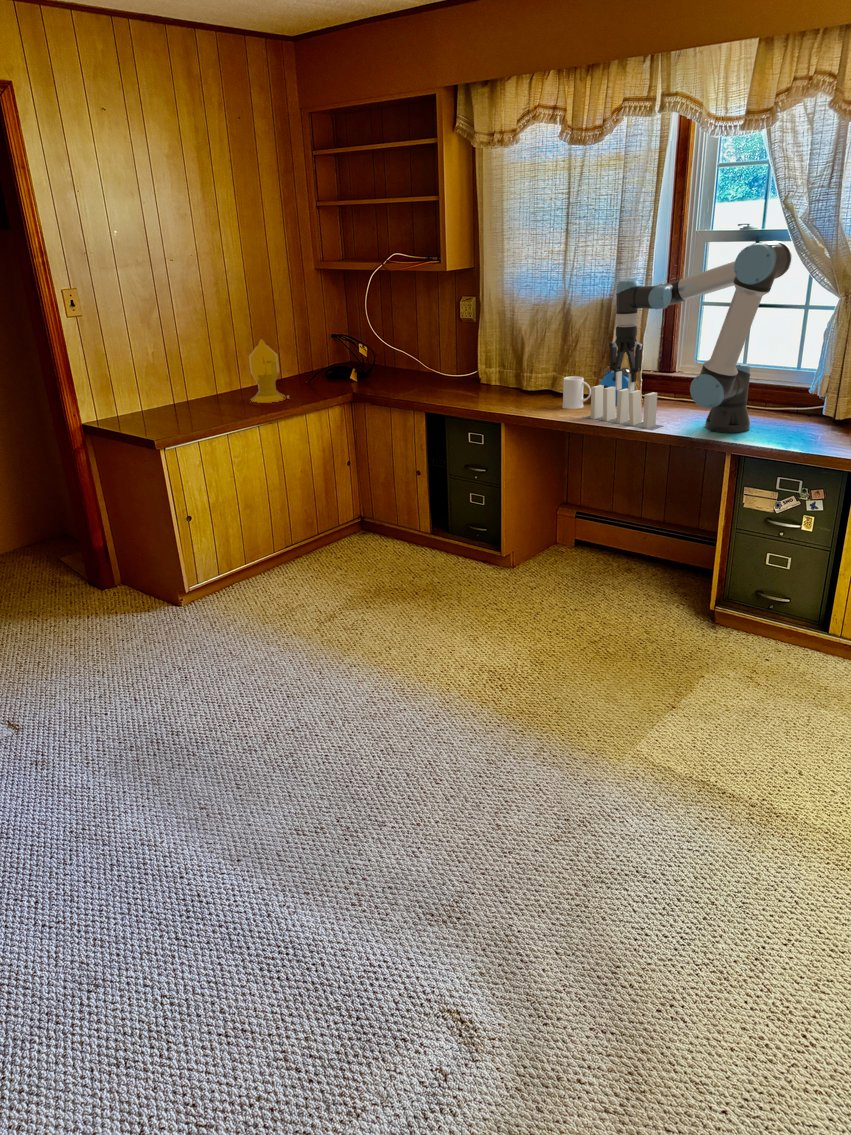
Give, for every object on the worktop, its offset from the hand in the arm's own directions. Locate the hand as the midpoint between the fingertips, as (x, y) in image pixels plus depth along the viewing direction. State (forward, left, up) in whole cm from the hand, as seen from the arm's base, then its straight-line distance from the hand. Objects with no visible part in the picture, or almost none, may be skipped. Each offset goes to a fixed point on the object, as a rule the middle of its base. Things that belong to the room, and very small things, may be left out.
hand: (624, 390), depth 311 cm
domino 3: (+1, 0, -12) cm, 12 cm away
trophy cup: (+149, +62, -13) cm, 162 cm away
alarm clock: (+23, -26, -13) cm, 37 cm away
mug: (+31, -10, -13) cm, 34 cm away
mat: (+1, 0, -12) cm, 12 cm away
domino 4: (-5, 0, -12) cm, 13 cm away
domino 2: (+7, 0, -12) cm, 14 cm away
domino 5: (-11, 0, -12) cm, 17 cm away
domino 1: (+13, 0, -12) cm, 17 cm away
